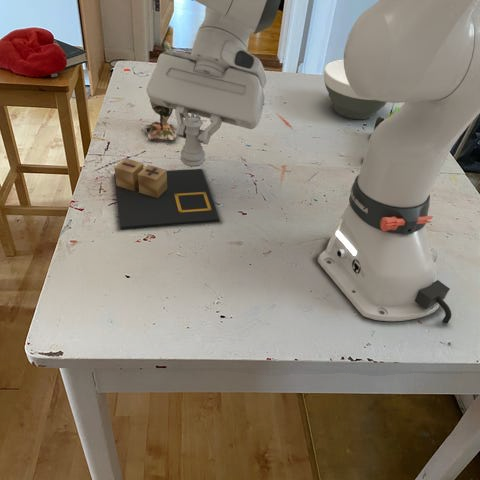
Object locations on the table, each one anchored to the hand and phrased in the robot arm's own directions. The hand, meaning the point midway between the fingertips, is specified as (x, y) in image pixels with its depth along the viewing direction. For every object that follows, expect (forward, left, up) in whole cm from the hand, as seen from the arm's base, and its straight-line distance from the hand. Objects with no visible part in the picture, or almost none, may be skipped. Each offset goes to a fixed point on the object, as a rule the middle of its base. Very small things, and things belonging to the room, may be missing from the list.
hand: (191, 139), depth 81 cm
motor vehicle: (+15, -50, -14) cm, 54 cm away
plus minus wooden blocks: (+7, +9, -13) cm, 17 cm away
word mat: (+3, +5, -13) cm, 15 cm away
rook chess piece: (+1, 0, -5) cm, 5 cm away
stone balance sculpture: (+30, +2, -14) cm, 33 cm away
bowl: (+38, -50, -14) cm, 65 cm away
